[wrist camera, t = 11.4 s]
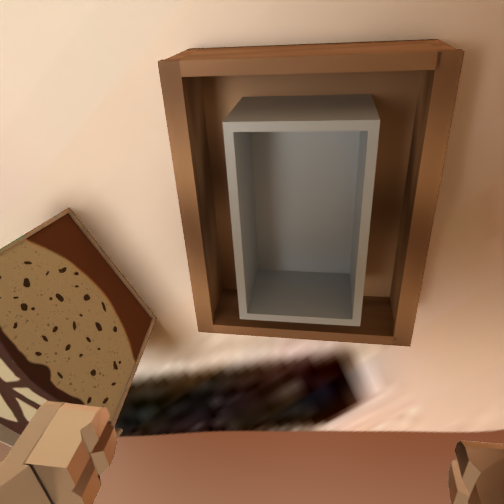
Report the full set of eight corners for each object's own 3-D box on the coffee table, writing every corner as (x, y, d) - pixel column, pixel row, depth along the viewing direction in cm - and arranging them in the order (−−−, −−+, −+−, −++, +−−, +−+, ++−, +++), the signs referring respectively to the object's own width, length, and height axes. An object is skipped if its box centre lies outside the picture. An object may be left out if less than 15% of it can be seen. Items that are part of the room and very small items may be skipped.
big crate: (185, 48, 21) (157, 61, 17) (440, 39, 19) (464, 51, 16) (214, 290, 28) (198, 331, 25) (400, 299, 26) (410, 346, 23)
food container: (-13, 225, 28) (-159, 327, 20) (52, 186, 26) (-82, 284, 18) (104, 355, 33) (27, 482, 25) (168, 333, 31) (106, 465, 22)
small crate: (242, 96, 21) (222, 122, 17) (371, 94, 20) (380, 119, 16) (253, 270, 26) (239, 319, 22) (356, 274, 25) (360, 326, 21)
